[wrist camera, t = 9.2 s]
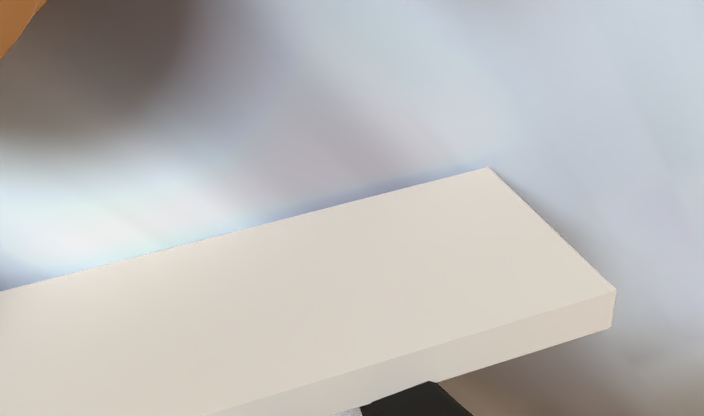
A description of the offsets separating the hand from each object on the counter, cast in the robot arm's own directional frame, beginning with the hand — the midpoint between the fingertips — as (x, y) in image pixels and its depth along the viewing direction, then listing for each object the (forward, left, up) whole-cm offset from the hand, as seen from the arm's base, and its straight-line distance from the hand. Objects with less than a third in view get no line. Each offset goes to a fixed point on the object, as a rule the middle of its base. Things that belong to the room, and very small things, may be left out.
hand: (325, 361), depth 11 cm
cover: (-2, 0, -2) cm, 3 cm away
